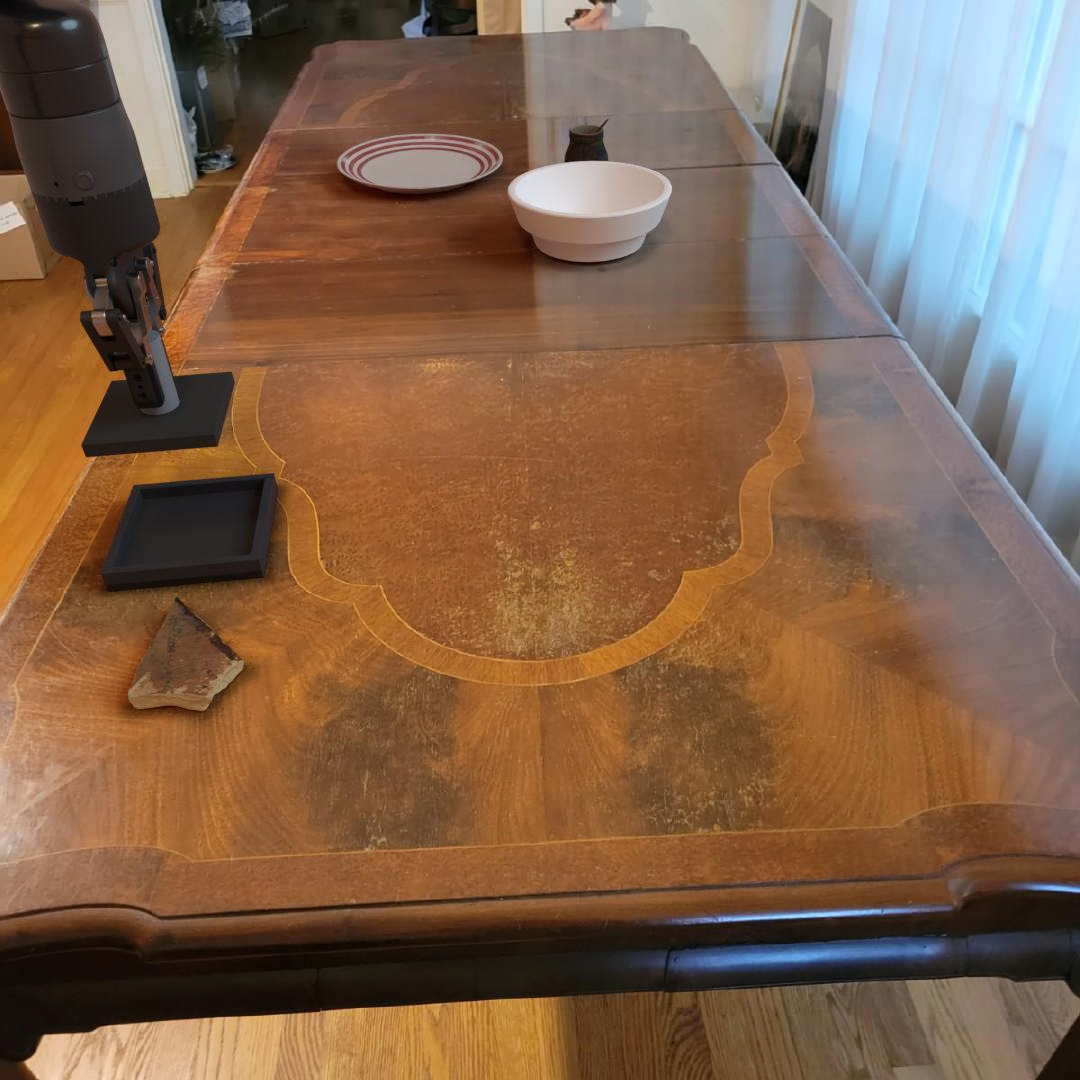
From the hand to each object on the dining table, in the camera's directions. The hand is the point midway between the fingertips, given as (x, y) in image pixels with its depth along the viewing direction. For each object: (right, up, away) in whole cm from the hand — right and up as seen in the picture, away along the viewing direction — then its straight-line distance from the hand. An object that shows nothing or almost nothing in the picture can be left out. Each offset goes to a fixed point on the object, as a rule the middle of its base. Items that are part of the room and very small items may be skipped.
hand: (155, 393), depth 78 cm
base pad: (0, -11, +10) cm, 15 cm away
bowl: (+38, +30, +61) cm, 78 cm away
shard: (+3, -22, -3) cm, 22 cm away
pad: (0, -2, +2) cm, 2 cm away
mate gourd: (+38, +48, +83) cm, 103 cm away
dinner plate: (+11, +49, +87) cm, 101 cm away
